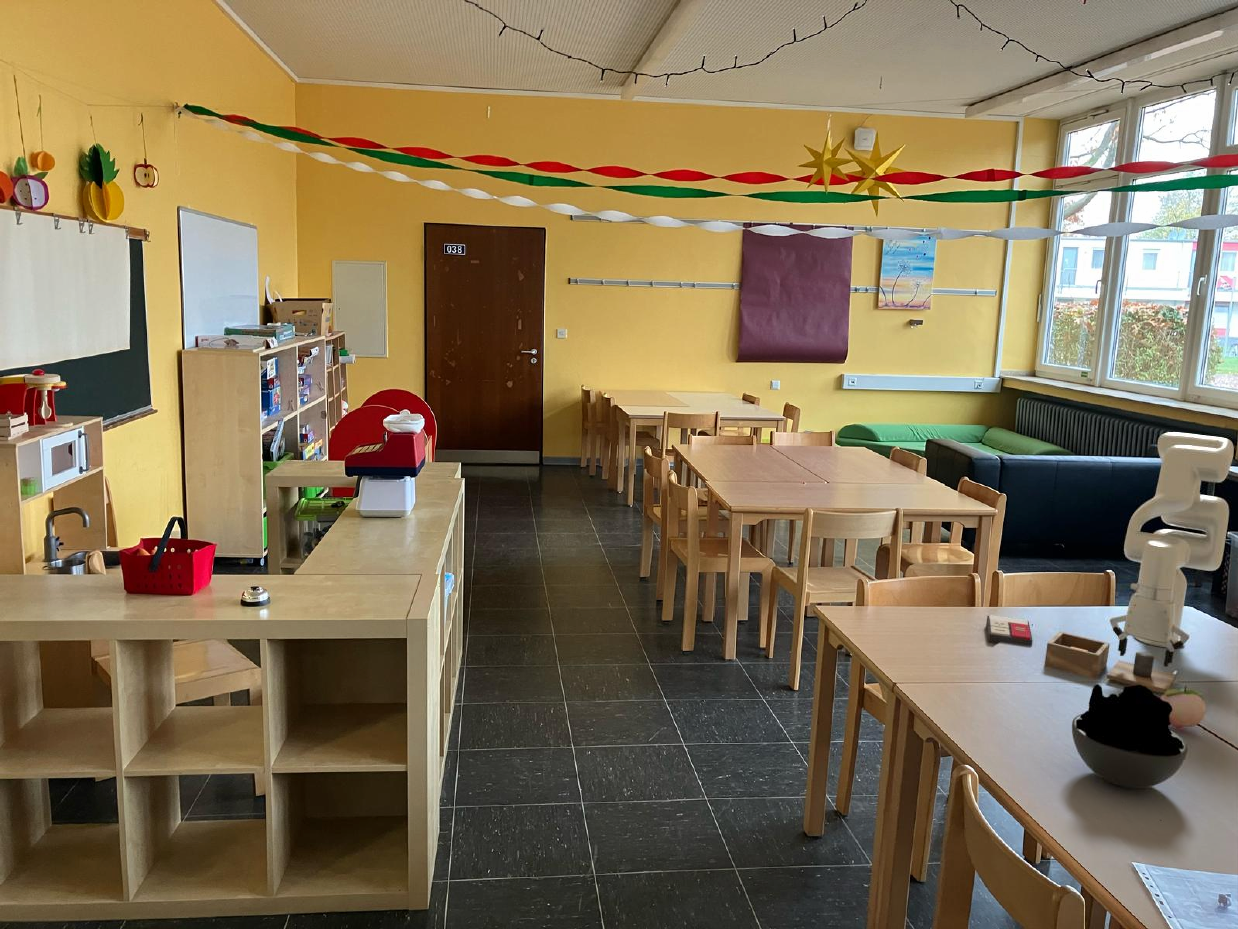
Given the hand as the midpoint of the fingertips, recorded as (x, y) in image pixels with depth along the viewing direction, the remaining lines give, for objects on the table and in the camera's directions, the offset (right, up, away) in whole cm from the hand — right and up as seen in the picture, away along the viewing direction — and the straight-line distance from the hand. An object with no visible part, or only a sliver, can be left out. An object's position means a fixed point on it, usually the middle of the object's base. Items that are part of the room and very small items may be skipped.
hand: (1144, 659), depth 243 cm
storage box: (-12, -4, +10) cm, 16 cm away
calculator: (-21, -1, +32) cm, 38 cm away
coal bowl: (-30, -14, -49) cm, 59 cm away
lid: (0, -6, +1) cm, 6 cm away
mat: (0, -7, +1) cm, 7 cm away
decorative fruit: (-4, -11, -23) cm, 26 cm away
